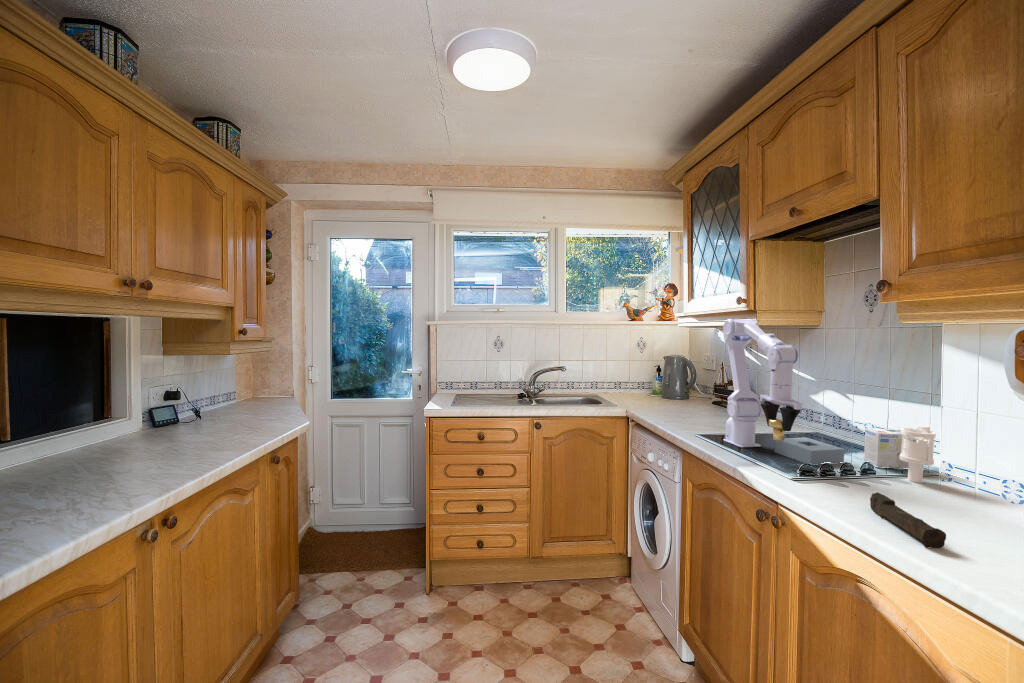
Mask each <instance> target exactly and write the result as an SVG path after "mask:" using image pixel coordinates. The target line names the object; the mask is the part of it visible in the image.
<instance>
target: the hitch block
mask: <svg viewBox="0 0 1024 683" xmlns="http://www.w3.org/2000/svg"><path fill="white" fill-rule="evenodd" d="M774 453H776V454H778V455H781V456H784V457H786V458H789V459H792V460H794V459H795V460H794V461H797V462H800V463H802V462H803V463H802V464H805V463H812V464H821V463H824V462H831V463H834V464H833V465H836V464H835V463H840V462H844V461H845V449H844V448H842V447H839V446H835V445H833V444H830V443H825V442H823V441H820V440H816V439H813V438H810V437H784V441H777V440H774ZM844 463H845V462H844Z"/></svg>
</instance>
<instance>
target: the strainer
mask: <svg viewBox="0 0 1024 683" xmlns="http://www.w3.org/2000/svg"><path fill="white" fill-rule="evenodd" d="M930 429H931V427H930V426H928V425H927V426H926V425H918V426H917V427H916V428H913V427H902V428H900V430H901V433H902V447H901V454H900V456H899V459H901V460H903V461H906V462H909V466H908V470H907V471H908V472H907V481H909V482H911V483H916V484H922V483H923V482H924V481H923V479H924V478H923V477H924V466H933V465H935V464H934V463H935V459H934V446H935V445H934V443H935V438H936V434H937V433H936V432H935V431H931V430H930ZM907 435H908V436H907ZM913 439H914V440H917V442H913Z"/></svg>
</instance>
